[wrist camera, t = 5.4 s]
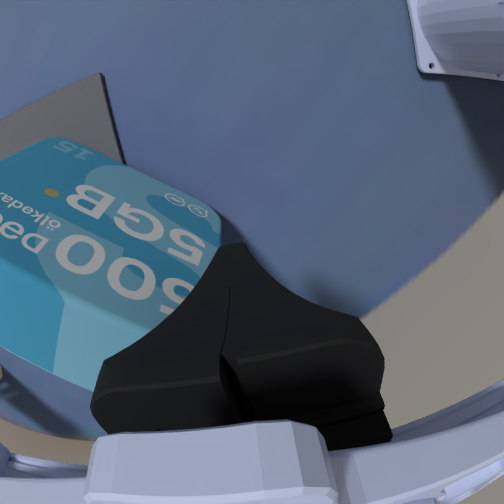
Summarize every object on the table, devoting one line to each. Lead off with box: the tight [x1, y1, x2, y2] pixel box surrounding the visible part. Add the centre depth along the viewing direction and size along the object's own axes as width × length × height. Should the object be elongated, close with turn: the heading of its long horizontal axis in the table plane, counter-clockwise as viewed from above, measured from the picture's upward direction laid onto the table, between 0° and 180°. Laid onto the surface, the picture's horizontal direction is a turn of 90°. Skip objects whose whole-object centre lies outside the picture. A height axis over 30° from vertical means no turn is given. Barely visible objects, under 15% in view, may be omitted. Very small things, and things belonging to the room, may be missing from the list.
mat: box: [0, 73, 124, 164], centre depth 20 cm, size 16×18×1 cm
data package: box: [0, 137, 221, 392], centre depth 14 cm, size 12×4×12 cm, turn 60°
